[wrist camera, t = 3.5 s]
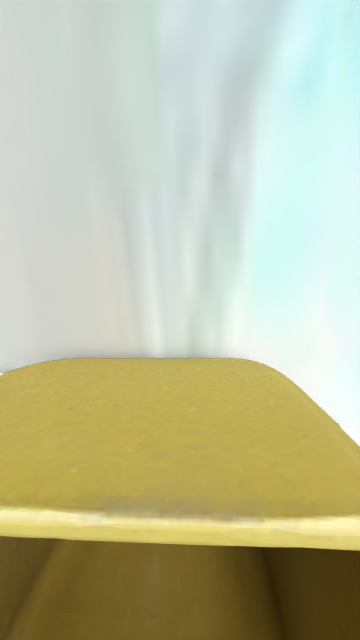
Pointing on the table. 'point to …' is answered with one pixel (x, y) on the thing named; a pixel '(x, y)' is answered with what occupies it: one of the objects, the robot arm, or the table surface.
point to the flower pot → (174, 504)
